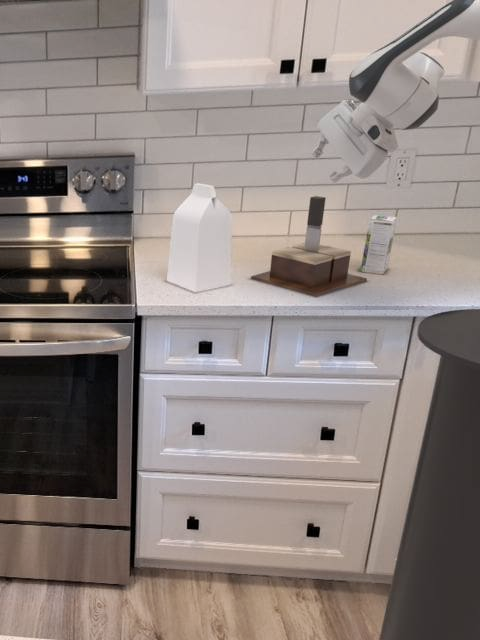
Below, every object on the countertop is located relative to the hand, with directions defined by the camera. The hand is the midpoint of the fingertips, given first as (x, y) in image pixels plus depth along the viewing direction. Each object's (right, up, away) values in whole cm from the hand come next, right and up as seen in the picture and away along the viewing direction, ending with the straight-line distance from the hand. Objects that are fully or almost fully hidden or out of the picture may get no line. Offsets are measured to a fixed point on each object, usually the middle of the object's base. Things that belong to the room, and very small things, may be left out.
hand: (323, 167), depth 167 cm
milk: (-25, -26, +18) cm, 41 cm away
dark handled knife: (+3, -19, +13) cm, 23 cm away
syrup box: (+23, -22, +21) cm, 38 cm away
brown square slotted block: (+3, -26, +16) cm, 30 cm away
